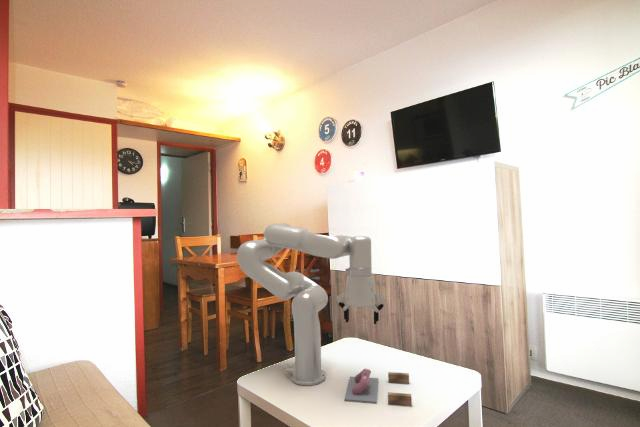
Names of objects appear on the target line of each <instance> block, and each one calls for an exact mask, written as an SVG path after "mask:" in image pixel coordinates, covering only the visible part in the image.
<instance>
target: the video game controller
mask: <svg viewBox="0 0 640 427" xmlns="http://www.w3.org/2000/svg"><path fill="white" fill-rule="evenodd" d="M371 372H372V371H371V370H370V369H369V368H364V369H362V371H360V372H359V373H358V374H356V375H355V376H354V377H355V381H356V382H359V383H358V384H357V385H355V386H354V387H353V389H352V393H353V394H359V393H361V392H362V391H364V390H365V389H366V388H367V386H368V387H369V386H370V384H369V381H370V379H369V378H371V377H370V376H371Z"/></svg>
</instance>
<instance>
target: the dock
mask: <svg viewBox="0 0 640 427" xmlns="http://www.w3.org/2000/svg"><path fill="white" fill-rule="evenodd" d="M387 382H388V383H389V384H399V385H401V384H402V385H409V384H410V374H409V372H395V371H394V372H393V371H388V372H387ZM412 400H413V399H412V393H403V392H402V393H401V392H389V391H388V392H387V405H388V406H389V405H390V406H401V407H402V406H403V407H410V408H411V407H413V406H412V404H413V402H412Z"/></svg>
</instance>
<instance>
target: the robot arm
mask: <svg viewBox="0 0 640 427" xmlns="http://www.w3.org/2000/svg"><path fill="white" fill-rule="evenodd" d="M284 249H288V250H292V251H293V250H294V251H298V252H301V253H304V254H307V255H311V256H314V257H319V258H324V259H331V260H334V259H335V260H337V259H339V258H343V257H346V256H348V257H349V258H348V259H349V261H348V262H349V267H347V268H345V273H347V274H349V275H347V277H346V283H345V292H343V293H341V294H339V295H337V296H336V297H335V299H336V300H335V301H336V302H337V303H338V306H339V307H340V308H341V309H342V311H343V319H344V320H345V323H349V321H350V309H349V307H358V308H372V310H374V311H373V324H374V325H377V324H378V323H377V322H379V321H380V320H379V318H380V317H379V312H380V311H381V310H382V309H383V308H384V307H385V305H386V302H387V298H386V297H384V296H382V295H380V294H378V293H377V292H376V290H377V289H376V283H375V281H376V280H375V278H374V276H373V275H372V273H373V271H372V270H373V268H372V239H371V238H370V237H369V236H360V235H359V236H356V235H355V236H348V235H342V234H341V235H335V236H334V235H333V236H331V235H326V234H325V235H323V234H318V233H313V232H311V231H309V230H308V228H304V227H297V226H292V225H290V224H289V223H288V224H287V223H272V224H269V225H268V226H266V228H265V229H264V231H263V239H256V240H255V239H254V240H248V241H245V242H244V243H242V244H241V245H240V246H239V247H238V249H237V254H236V257H237V258H236V259H237V263H238V266H239V268H240V270H241V271H242V272H243V273H244V275H246V276H247V277H249V278H250V279H252V280H253V281H255V282H256V283H257V284H259V285H260V286H261V287H263V288H264V289H265V290H267V291H268V292H269V293H271V294H272V295H274V296H275V297H276V298H277V299H280V300H282V301H284V300H289V299H291V298H293V299H292V302H291V314H292V319H293V331H294V332H293V333H294V336H293V337H294V363H292V364H290V363H285V364H284V365H283V366H284V367H283V369H284V370H285V372H286V373H291V374H290V380H291V381H292V383H294V384H297V385H301V386H313V385H317V384H321V383H322V382H323V381H325V380H326V377H327V373H326V372H325V371H324V370H323V369H322V343H321V340H322V338H321V336H322V335H321V323H320V318H319V312H320V311H322V309H324V308H326V306H327V304H328V302H329V298H328V297H329V296H328V293H327V291H326V290H325V289H324V287H322V286H321V285H319V284H318V283H316V282H315V281H313V280H312V279H310V278H309V277H307V276H305V275H304V274H302V273H301V272H298V271H288V272H283V271H281V270H279V269H278V268H277V267H275V266H274V265H272V264H270V263H268V262H266V261H267V260H270V259H271V258H273V257H275V256H276V255H277V254H278V253H280V252H281V251H282V250H284ZM343 298H344V299H345V303H344V302H343V301H342V299H343ZM377 299H378V300H379V301H381V302H380V304H379V305H377Z"/></svg>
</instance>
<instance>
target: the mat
mask: <svg viewBox="0 0 640 427" xmlns="http://www.w3.org/2000/svg"><path fill="white" fill-rule="evenodd" d="M369 379H370V381H369V384H370V386H369V387H368V386H367V388H366V389H365V390H364V391H362V392H361V393H359V394H353V393H352V389H353V387H354V386H355V385H357V384H358V383H359V382H356V381H355V376H349V380H348V384H347V387H346V388H347V389H346V392H345V396H344V398H343V399H344V402H353V403H366V404H376V405H377V403H378V392H379V388H378V387H379V378H378V377H369Z"/></svg>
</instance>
